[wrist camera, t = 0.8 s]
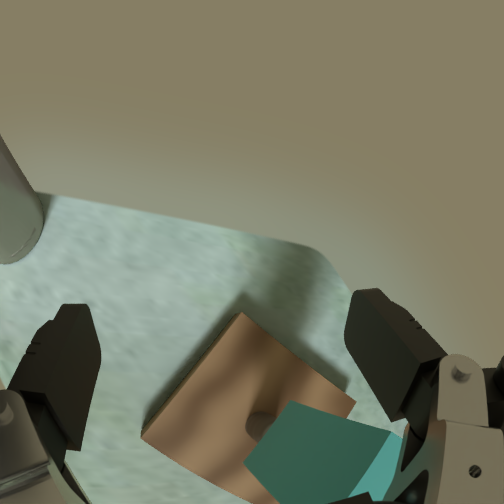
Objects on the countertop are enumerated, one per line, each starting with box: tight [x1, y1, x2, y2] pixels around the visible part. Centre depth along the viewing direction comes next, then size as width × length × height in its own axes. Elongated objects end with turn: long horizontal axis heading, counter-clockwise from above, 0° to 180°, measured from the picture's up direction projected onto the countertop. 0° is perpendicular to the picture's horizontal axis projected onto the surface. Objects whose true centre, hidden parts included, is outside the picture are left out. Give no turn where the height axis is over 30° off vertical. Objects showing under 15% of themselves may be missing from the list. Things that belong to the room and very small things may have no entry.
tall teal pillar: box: [243, 400, 403, 504], centre depth 16 cm, size 6×6×11 cm
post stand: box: [141, 312, 356, 504], centre depth 25 cm, size 17×16×12 cm
